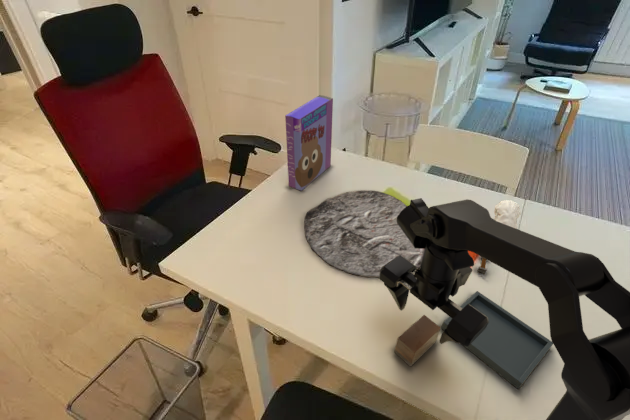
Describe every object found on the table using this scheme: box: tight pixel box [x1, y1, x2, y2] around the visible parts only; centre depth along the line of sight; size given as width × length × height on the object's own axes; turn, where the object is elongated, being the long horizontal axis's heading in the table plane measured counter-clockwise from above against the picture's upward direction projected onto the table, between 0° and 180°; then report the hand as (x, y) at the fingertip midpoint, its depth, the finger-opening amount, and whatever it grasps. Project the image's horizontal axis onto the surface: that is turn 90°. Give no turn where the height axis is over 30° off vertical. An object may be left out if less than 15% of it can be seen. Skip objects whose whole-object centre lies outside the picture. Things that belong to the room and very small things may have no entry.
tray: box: [440, 290, 554, 390], centre depth 75 cm, size 17×13×2 cm
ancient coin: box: [303, 189, 425, 278], centre depth 100 cm, size 33×35×1 cm
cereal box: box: [284, 94, 334, 192], centre depth 114 cm, size 17×5×24 cm, turn 147°
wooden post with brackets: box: [477, 257, 488, 274], centre depth 91 cm, size 2×8×4 cm, turn 155°
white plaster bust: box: [493, 199, 522, 229], centre depth 97 cm, size 6×8×12 cm
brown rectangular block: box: [393, 314, 442, 367], centre depth 72 cm, size 4×8×5 cm, turn 130°
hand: (421, 324), depth 69 cm, fingers open, 9 cm apart
